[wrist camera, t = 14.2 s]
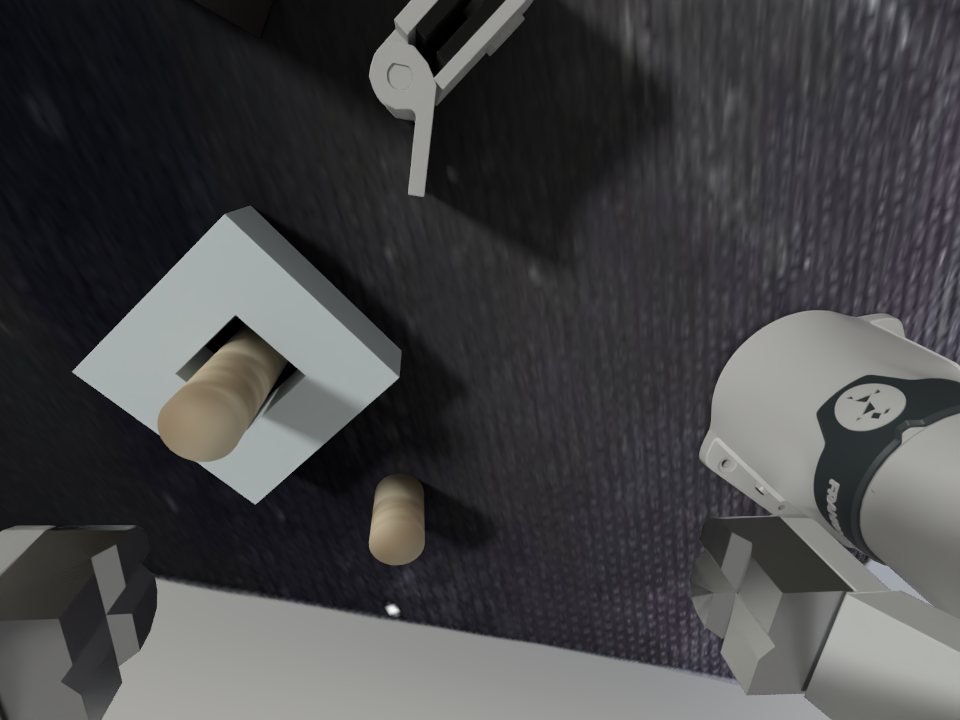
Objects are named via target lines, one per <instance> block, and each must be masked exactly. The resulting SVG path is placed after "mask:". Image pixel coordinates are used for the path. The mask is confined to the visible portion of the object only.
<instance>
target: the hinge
mask: <svg viewBox="0 0 960 720" xmlns="http://www.w3.org/2000/svg"><path fill="white" fill-rule="evenodd" d="M533 1H534V0H411V1H410V2H409V3H408V4H407V5H406V7H405V8H404V9H403V10H402V11H401V12H400V13H399V15H398V16H397V17H396V18H395V19H394V22H395V28H396V29H395V30H394V31H393V33H392V34H391V35H390V36H389V37H388V38H387V39H386V41H385V42H384V43H383V44H382V45H381V46H380V47H379V48H378V50H377V51H376V53H375V54H374V57H373V60H372V63H371V67H370V72H369V78H370V81H371V84H372V87H373V89H374V92H375V94H376V96H377V98H378V99H379V100H380V101H381V103H383V104H384V105H385V106H386V108H387V109H388V110H389V112H391V114H392V115H393V116H394V117H395V118H398V119H405V120H413V121H415V131H414V141H413V151H412V161H411V171H410V181H409V191H408V195H414V196H421V197H424V194H425V185H426V176H427V167H428V159H429V150H430V141H431V132H432V123H433V114H434V105H436V106H437V105H438V104H439V103H440V102H441V101H442V100H443V99H444V98H445V96H446V95H447V94H448V93H449V92H450V91H451V90H452V89H453V88H454V87H455V86H456V85H457V84H458V83H459V82H460V80H461V79H462V78H463V77H464V76H465V75H466V74H467V73H468V72H469V71H470V70H471V69H472V68H473V67H474V65H475V64H476V63H477V62H478V61H479V60H480V59H481V58H482V57H483V56H484V55H485V54H486V53H487V54H488V55H489V56H491V55H492V54H493V53H494V52H495V51H496V50H497V49H498V48H499V47H500V46H501V45H502V44H503V42H504V41H505V40H506V39H507V38H508V37H509V36H510V35H511V34H512V33H513V32H514V31H515V30H516V28H517V27H518V26H519V25H520V24H521V23H522V22H523V21H524V19H525V18H524V17H523V15H522V14H523V13H524V12H525V11H526V10H527V9H528V7H529V6H530V5H531V3H532V2H533ZM436 55H437V57H436V62H435V67H434V72H433V75H432V73H431V70H430V68H429V65H428V64H429V63H430V62H431V61H432V59H433V58H434V57H435V56H436Z"/></svg>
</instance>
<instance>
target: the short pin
mask: <svg viewBox="0 0 960 720" xmlns="http://www.w3.org/2000/svg"><path fill="white" fill-rule="evenodd" d="M424 544H425V535H424V490H423V486H422V484H421V483H420V482H419V481H418V480H417V479H416V478H415V477H413V476H411V475H408V474H402V473H398V474H392V475H389V476H387V477H385V478H384V479H383V480H382V481H380V483H379V484H378V486H377V488H376V492H375V499H374V507H373V515H372V523H371V531H370V539H369V548H370V551H371V553H372V554H373V556H374V557H375V558H376V559H378V560H379V561H381V562H383V563H386V564H390V565H402V564H406V563H409V562H411V561H413V560H414V559H416V558H417V557H418V556H419V555H420V554H421V552H422V551H423V548H424Z"/></svg>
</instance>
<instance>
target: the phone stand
mask: <svg viewBox="0 0 960 720" xmlns="http://www.w3.org/2000/svg"><path fill="white" fill-rule="evenodd" d="M193 1H195V2H197V3H199V4H200V5H202V6H204V7H206V8H207V9H209V10H211V11H213V12H214V13H216V14H218V15H220V16H221V17H223V18H225V19H227V20H228V21H230V22H232V23H234V24H235V25H237V26H239V27H241V28H242V29H244V30H246V31H248V32H249V33H251V34H253V35H255V36H256V37H258V38H260V37H261V34H262V31H263V28H264V26H265V23H266V20H267V17H268V14H269V11H270V8H271V6H272V3H273V0H193Z"/></svg>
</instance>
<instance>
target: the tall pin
mask: <svg viewBox="0 0 960 720" xmlns="http://www.w3.org/2000/svg"><path fill="white" fill-rule="evenodd" d="M287 363H288V360H287V359H286V358H285V357H284V356H282V355H281V354H280V353H279V352H278V351H277V350H276V349H274V348H273V347H272V346H271V345H270V344H269V343H267V342H266V341H265V340H264V339H263V338H262V337H260V336H259V335H258V334H257V333H256V332H255V331H254V330H252V329H251V328H250V327H249V326H248V325H247V324H246V325H244V326H243V327H242V328H240V329H239V330H238V331H237V332H236V333H235V334H234V335H233V336H232V337H231V338H230V339H229V340H228V341H227V342H226V343H225V344H224V345H223V346H222V347H221V348H220V349H219V350H218V351H217V352H216V353H215V354H214V355H213V356H212V357H211V358H210V359H209V360H208V361H207V362H206V363H205V364H204V365H203V366H202V367H201V368H200V369H199V370H198V371H197V372H196V373H195V374H194V375H193V376H192V378H191V379H190V380H189V381H188V382H187V383H186V384H185V385H184V386H183V387H182V388H181V389H180V390H179V391H178V392H177V393H176V394H175V395H174V396H173V397H172V398H171V399H170V400H169V401H168V402H167V403H166V404H165V405H164V406H163V407H162V409H161V410H160V413H159V415H158V421H157V425H158V431H159V434H160V436H161V438H162V440H163V442H164V443H165V444H166V445H167V446H168V447H169V449H171V450H172V451H173V452H174V453H176V454H178V455H179V456H181V457H183V458H186V459H189V460H192V461H198V462H210V461H215V460H219V459H221V458H224V457H225V456H227V455H228V454H230V453H231V452H232V451H233V450H234V449H235V447H236V446H237V444H238V443H239V441H240V439H241V438H242V436H243V434H244V433H245V431H246V430H247V428H248V426H249V425H250V423H251V421H252V420H253V418H254V417H255V415H256V413H257V412H258V410H259V408H260V407H261V405H262V404H263V402H264V400H265V399H266V397H267V395H268V394H269V392H270V391H271V389H272V387H273V386H274V384H275V382H276V381H277V379H278V377H279V376H280V374H281V373H282V371H283V369H284V368H285V366H286V364H287Z"/></svg>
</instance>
